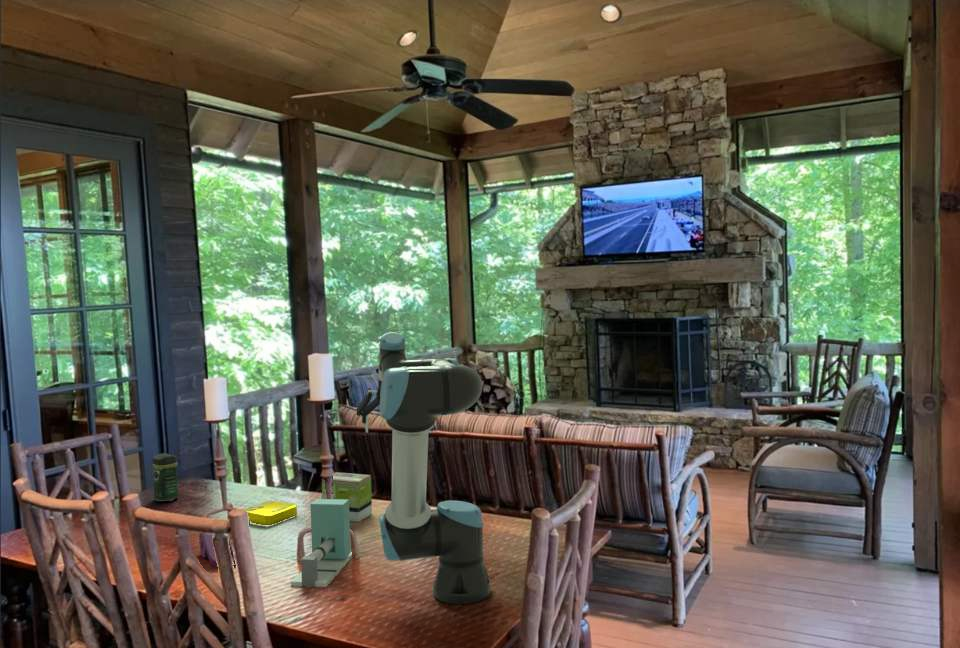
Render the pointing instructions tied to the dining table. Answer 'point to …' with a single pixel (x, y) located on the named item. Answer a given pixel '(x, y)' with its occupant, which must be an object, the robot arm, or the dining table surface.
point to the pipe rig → (319, 567)
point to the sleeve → (331, 526)
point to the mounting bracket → (210, 548)
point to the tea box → (352, 493)
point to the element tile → (271, 512)
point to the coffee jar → (165, 476)
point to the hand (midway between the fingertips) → (387, 428)
